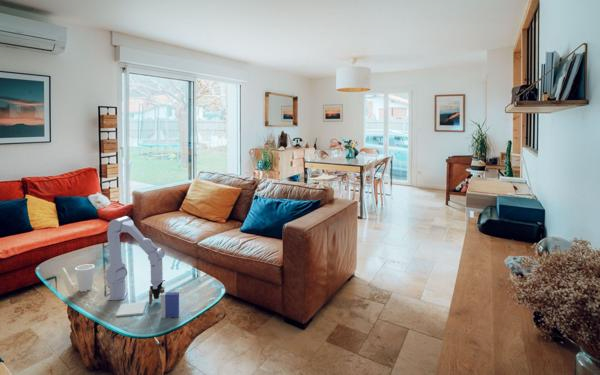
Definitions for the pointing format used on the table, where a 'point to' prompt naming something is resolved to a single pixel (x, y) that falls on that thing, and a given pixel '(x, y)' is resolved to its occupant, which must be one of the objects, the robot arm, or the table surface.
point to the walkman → (169, 304)
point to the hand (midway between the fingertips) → (156, 296)
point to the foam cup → (85, 276)
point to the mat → (131, 309)
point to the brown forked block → (152, 293)
